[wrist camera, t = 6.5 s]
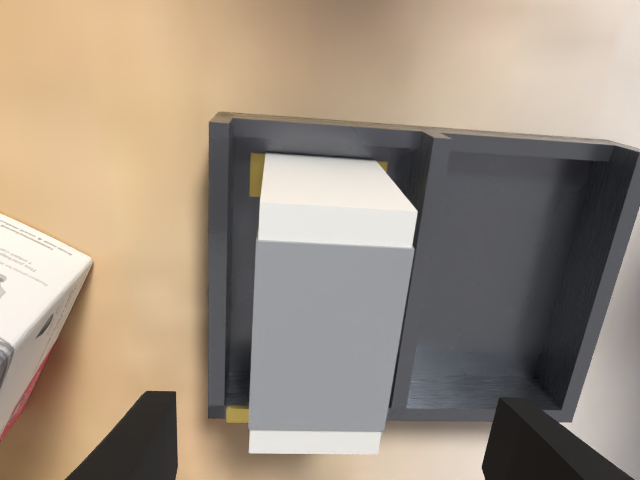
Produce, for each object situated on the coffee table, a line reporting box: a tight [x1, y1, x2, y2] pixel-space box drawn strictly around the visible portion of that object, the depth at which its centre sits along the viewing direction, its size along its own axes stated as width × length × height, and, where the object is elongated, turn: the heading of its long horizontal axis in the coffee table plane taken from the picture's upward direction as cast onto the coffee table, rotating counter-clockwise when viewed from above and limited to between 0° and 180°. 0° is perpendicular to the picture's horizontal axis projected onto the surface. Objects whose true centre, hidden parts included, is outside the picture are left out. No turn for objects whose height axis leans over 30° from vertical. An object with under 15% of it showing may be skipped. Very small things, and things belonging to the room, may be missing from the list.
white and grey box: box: [248, 152, 418, 454], centre depth 17 cm, size 4×8×6 cm, turn 175°
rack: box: [208, 112, 640, 423], centre depth 19 cm, size 15×11×3 cm
